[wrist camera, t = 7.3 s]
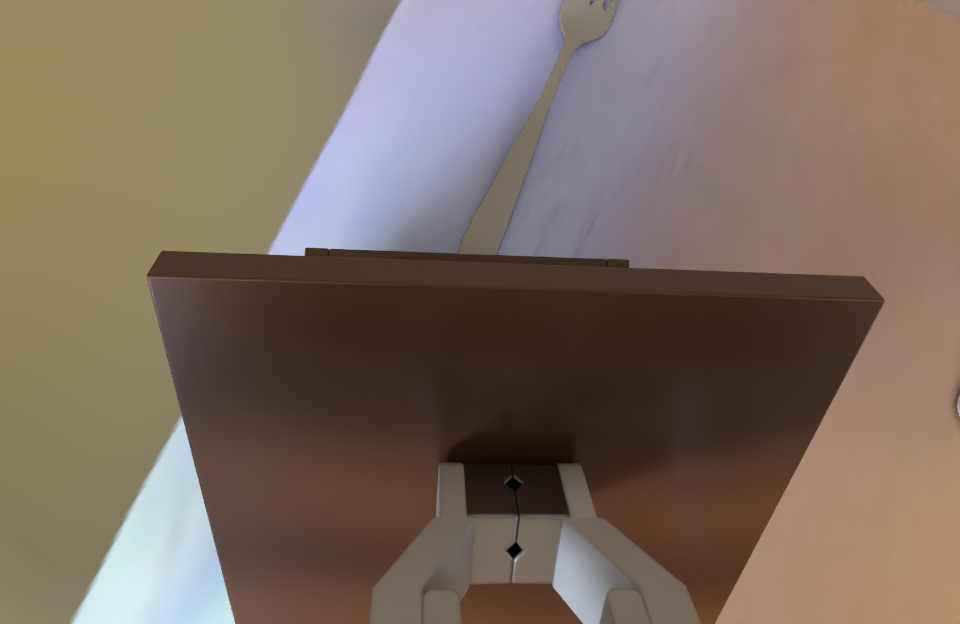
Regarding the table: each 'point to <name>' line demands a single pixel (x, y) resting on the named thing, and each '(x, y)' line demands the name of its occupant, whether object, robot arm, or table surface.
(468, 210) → the table surface
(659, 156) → the table surface
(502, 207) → the fork
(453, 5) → the table surface
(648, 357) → the lid
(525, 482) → the robot arm
